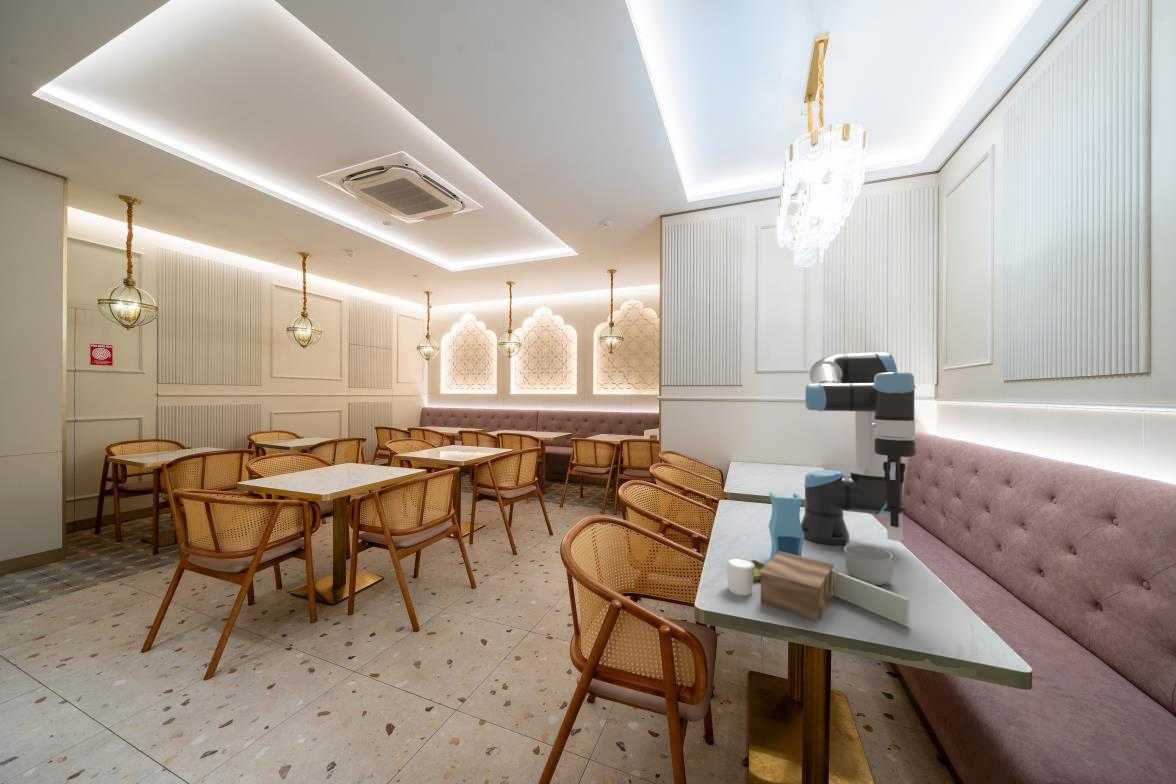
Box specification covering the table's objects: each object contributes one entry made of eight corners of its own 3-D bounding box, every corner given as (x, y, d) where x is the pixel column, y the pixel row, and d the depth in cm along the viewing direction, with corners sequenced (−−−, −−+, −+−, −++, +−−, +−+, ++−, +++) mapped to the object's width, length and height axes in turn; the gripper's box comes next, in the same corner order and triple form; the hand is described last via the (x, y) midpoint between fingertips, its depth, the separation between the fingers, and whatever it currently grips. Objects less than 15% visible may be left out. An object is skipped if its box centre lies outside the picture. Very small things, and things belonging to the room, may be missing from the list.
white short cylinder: (738, 581, 105) (738, 555, 105) (760, 592, 99) (760, 564, 99) (720, 587, 102) (720, 560, 102) (741, 599, 96) (741, 570, 96)
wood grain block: (779, 578, 107) (779, 551, 107) (833, 594, 98) (833, 564, 98) (759, 602, 94) (759, 571, 94) (819, 622, 86) (818, 588, 86)
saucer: (730, 571, 112) (730, 563, 112) (754, 566, 115) (754, 559, 115) (753, 584, 104) (753, 576, 104) (778, 579, 107) (778, 571, 107)
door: (831, 593, 98) (831, 571, 98) (834, 592, 98) (834, 570, 98) (906, 626, 84) (906, 600, 84) (909, 624, 84) (909, 598, 85)
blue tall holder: (796, 558, 120) (796, 493, 120) (804, 569, 112) (804, 499, 113) (768, 556, 122) (768, 491, 122) (774, 566, 114) (774, 497, 115)
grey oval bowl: (902, 591, 100) (902, 560, 100) (854, 587, 102) (854, 556, 102) (874, 568, 113) (874, 540, 114) (832, 565, 116) (832, 537, 116)
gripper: (877, 435, 100) (878, 529, 99) (871, 439, 90) (871, 543, 89) (915, 437, 95) (916, 536, 94) (913, 441, 85) (914, 551, 84)
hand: (894, 539), depth 92 cm, fingers closed
